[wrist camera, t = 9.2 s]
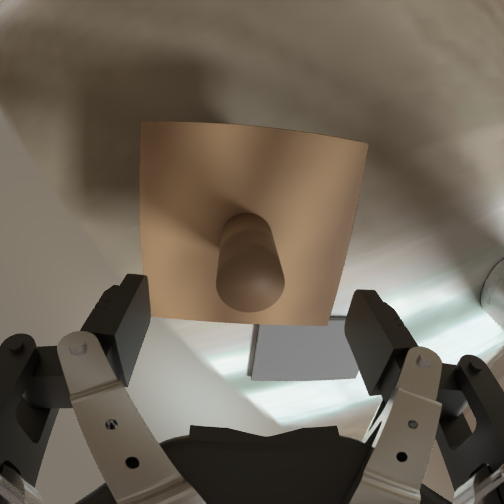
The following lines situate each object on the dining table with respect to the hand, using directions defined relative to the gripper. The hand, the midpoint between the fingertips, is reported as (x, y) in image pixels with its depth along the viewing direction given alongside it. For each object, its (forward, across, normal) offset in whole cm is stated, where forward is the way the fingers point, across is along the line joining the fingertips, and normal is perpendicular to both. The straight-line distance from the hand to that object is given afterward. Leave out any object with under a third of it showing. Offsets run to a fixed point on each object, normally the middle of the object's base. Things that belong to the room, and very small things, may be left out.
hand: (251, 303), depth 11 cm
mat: (+17, -10, +18) cm, 26 cm away
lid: (+7, 0, 0) cm, 7 cm away
